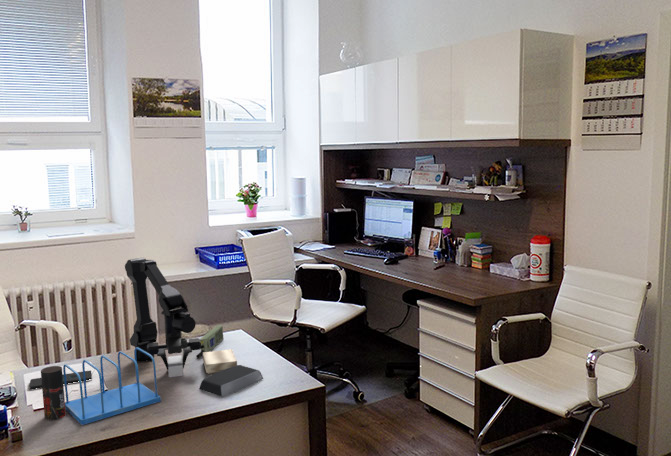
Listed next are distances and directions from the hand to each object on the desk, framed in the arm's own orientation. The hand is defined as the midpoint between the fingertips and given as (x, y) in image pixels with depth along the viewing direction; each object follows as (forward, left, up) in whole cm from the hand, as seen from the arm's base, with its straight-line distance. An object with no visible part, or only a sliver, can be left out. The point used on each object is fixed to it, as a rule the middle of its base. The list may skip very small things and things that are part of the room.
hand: (175, 369), depth 225 cm
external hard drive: (+18, -18, -2) cm, 26 cm away
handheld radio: (+15, +23, -2) cm, 27 cm away
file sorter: (-20, -23, -2) cm, 31 cm away
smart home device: (-39, +5, -2) cm, 39 cm away
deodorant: (-37, -26, -1) cm, 45 cm away
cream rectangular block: (+16, 0, -1) cm, 16 cm away
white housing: (0, 0, -1) cm, 1 cm away
